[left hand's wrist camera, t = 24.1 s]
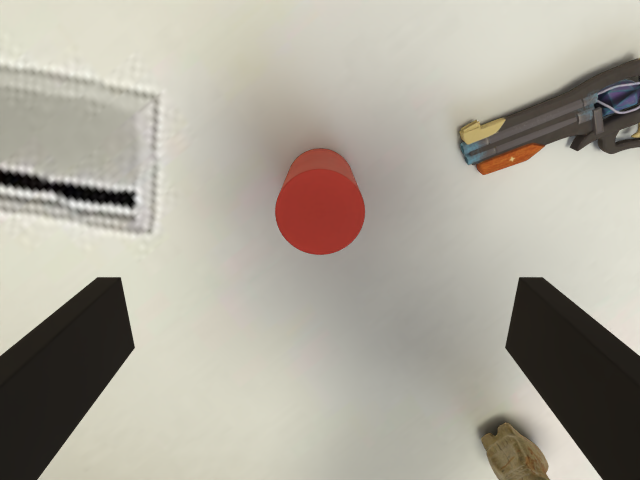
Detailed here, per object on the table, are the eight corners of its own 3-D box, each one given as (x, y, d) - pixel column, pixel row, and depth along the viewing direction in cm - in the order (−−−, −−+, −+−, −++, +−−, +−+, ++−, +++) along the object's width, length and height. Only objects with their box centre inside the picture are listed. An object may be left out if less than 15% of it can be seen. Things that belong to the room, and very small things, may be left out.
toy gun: (743, 155, 29) (754, 14, 25) (490, 241, 33) (462, 132, 29) (711, 145, 31) (717, 16, 27) (479, 227, 35) (451, 125, 31)
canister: (327, 225, 34) (329, 270, 25) (274, 189, 33) (258, 223, 24) (366, 174, 32) (383, 203, 24) (312, 134, 31) (308, 149, 22)
